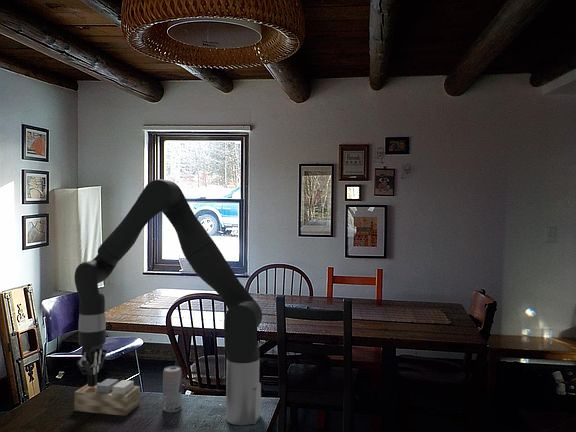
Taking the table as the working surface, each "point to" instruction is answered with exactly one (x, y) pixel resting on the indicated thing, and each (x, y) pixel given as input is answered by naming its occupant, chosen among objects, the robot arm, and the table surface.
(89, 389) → the rust key
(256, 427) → the table surface
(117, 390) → the ivory key
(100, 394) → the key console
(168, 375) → the energy drink
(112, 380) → the slate key
